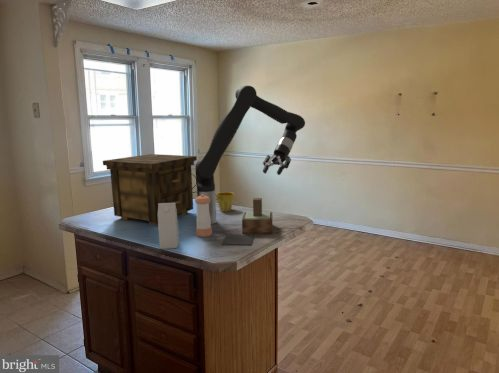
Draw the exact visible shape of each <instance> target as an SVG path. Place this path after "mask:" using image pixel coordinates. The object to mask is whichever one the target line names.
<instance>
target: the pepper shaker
mask: <svg viewBox="0 0 499 373" xmlns="http://www.w3.org/2000/svg"><path fill="white" fill-rule="evenodd" d="M194 202H195V204H196V227H195V228H196V229H195V230H196V231H195V232H196V236H197V237H203V238H205V237H210V236H212V235H213V233H212V232H213V230H212V229H213V228H212V227H213V226H212V224H211V219H210V214H209V203H210V198H209V197H208V196H204V195H203V194H202V195H201V196H198V197H195V200H194Z"/></svg>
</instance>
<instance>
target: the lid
mask: <svg viewBox="0 0 499 373" xmlns="http://www.w3.org/2000/svg"><path fill="white" fill-rule="evenodd" d="M252 205H253V206H252V211H245V212H246V215H245V218H244V219H260V220H270V212H271V211H263V198H262V197H253V199H252Z"/></svg>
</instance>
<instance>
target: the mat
mask: <svg viewBox="0 0 499 373" xmlns="http://www.w3.org/2000/svg"><path fill="white" fill-rule="evenodd" d="M254 236H255V235H254V234H225V236H224V239H223V240H222V243H221V246H252V245H253V241H254Z"/></svg>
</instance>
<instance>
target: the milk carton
mask: <svg viewBox="0 0 499 373" xmlns="http://www.w3.org/2000/svg"><path fill="white" fill-rule="evenodd" d="M157 226H158V241H159V249H160V250H164V249H165V250H166V249H168V250H169V249H178V246H179V227H178V226H179V225H178V215H177V209H176V205H175V203H158V225H157Z"/></svg>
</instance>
